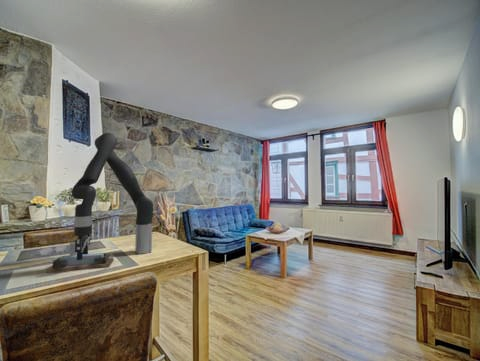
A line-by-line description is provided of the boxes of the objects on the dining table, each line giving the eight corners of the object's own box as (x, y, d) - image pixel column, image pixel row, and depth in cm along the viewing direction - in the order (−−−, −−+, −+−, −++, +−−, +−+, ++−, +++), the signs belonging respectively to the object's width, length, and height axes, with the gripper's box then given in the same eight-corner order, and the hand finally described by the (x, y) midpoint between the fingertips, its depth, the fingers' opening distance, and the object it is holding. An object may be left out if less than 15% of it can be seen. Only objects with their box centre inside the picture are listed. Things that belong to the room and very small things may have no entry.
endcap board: (113, 260, 124) (113, 252, 124) (109, 267, 114) (109, 258, 114) (55, 265, 116) (56, 256, 116) (46, 273, 106) (46, 263, 106)
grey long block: (103, 260, 120) (103, 252, 120) (101, 262, 116) (101, 254, 116) (62, 264, 114) (62, 255, 114) (59, 266, 110) (59, 258, 111)
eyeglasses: (67, 250, 143) (67, 244, 143) (72, 253, 139) (73, 247, 139) (38, 256, 131) (38, 249, 131) (43, 260, 127) (44, 253, 127)
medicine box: (75, 259, 126) (76, 243, 126) (69, 258, 126) (69, 243, 127) (88, 255, 133) (88, 240, 133) (81, 254, 134) (81, 239, 134)
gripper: (87, 227, 110) (86, 261, 109) (95, 222, 123) (95, 252, 123) (68, 227, 107) (68, 262, 107) (79, 222, 121) (78, 253, 121)
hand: (82, 257), depth 115 cm, fingers open, 8 cm apart
